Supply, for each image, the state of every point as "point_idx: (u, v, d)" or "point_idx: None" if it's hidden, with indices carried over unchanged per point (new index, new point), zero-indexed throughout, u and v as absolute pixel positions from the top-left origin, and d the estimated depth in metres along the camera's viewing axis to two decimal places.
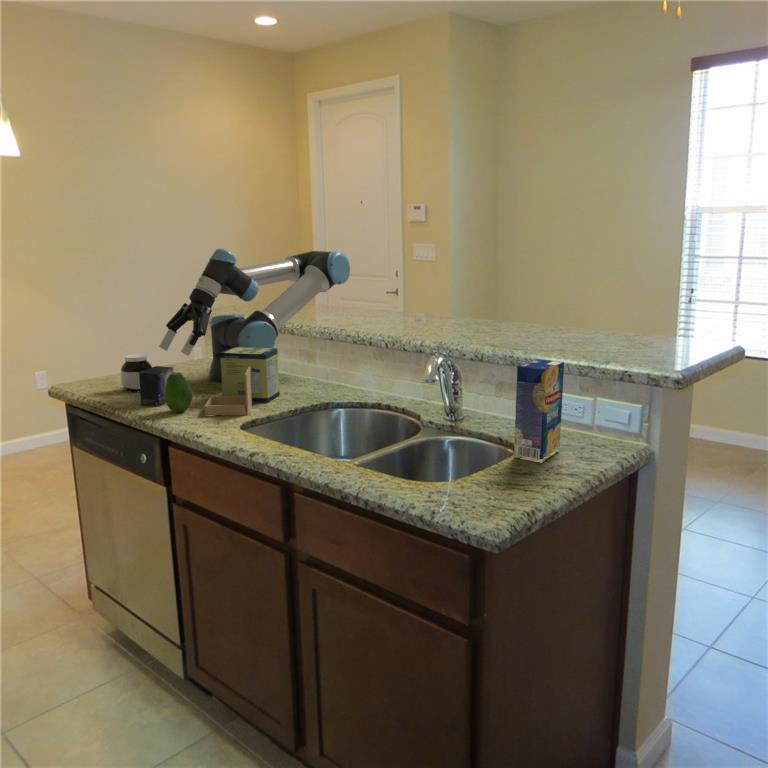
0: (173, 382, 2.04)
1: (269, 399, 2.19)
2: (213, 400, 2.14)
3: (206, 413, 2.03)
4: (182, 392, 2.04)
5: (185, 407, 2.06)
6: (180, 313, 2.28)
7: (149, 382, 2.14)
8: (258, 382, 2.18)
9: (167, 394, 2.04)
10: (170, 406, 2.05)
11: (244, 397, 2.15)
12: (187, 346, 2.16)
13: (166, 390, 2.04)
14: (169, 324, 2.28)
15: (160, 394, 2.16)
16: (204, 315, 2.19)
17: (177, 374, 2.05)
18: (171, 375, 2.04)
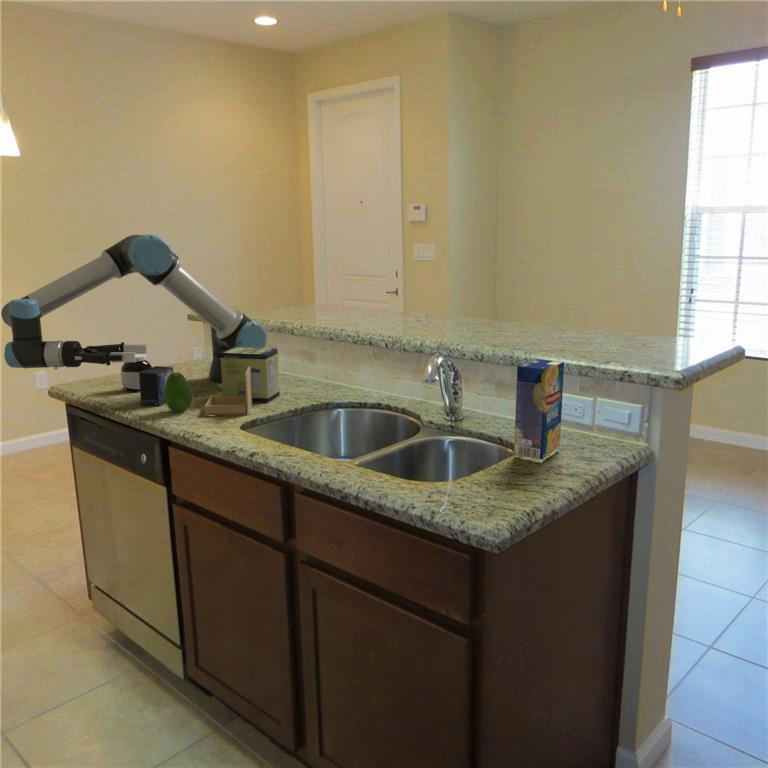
0: (173, 382, 2.04)
1: (269, 399, 2.19)
2: (213, 400, 2.14)
3: (206, 413, 2.03)
4: (182, 392, 2.04)
5: (185, 407, 2.06)
6: None
7: (148, 382, 2.14)
8: (258, 382, 2.18)
9: (167, 394, 2.04)
10: (170, 406, 2.05)
11: (244, 397, 2.15)
12: (126, 359, 1.97)
13: (166, 390, 2.04)
14: (120, 351, 2.11)
15: (160, 394, 2.16)
16: (85, 360, 1.95)
17: (177, 374, 2.05)
18: (171, 375, 2.04)
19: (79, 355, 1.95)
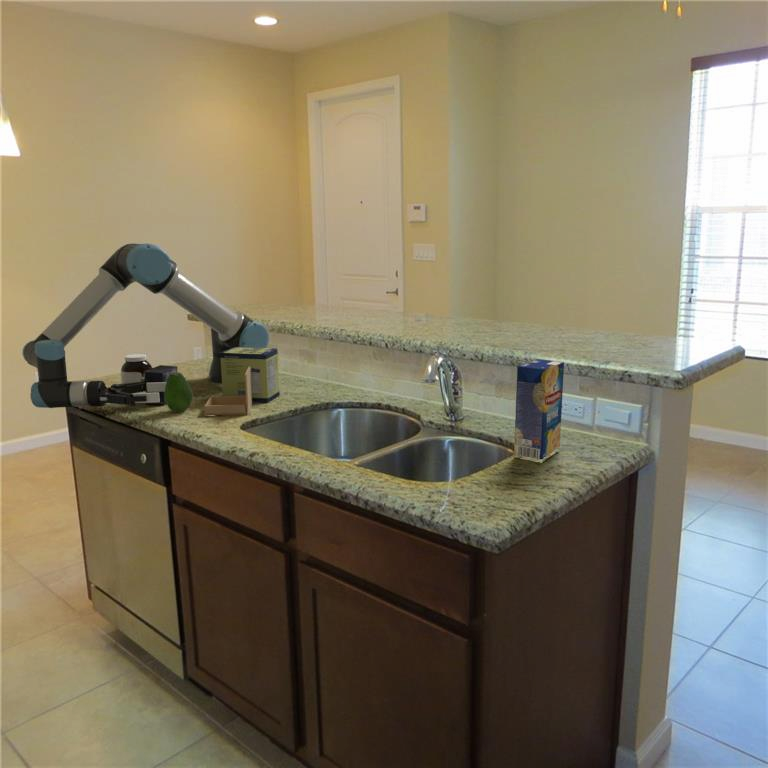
0: (173, 382, 2.04)
1: (269, 399, 2.19)
2: (213, 400, 2.14)
3: (206, 413, 2.03)
4: (182, 392, 2.04)
5: (185, 407, 2.06)
6: None
7: (154, 381, 2.15)
8: (258, 382, 2.18)
9: (167, 394, 2.04)
10: (170, 406, 2.05)
11: (244, 397, 2.15)
12: (150, 400, 1.99)
13: (166, 390, 2.04)
14: None
15: None
16: (110, 401, 1.98)
17: (177, 374, 2.05)
18: (171, 375, 2.04)
19: (104, 396, 1.98)
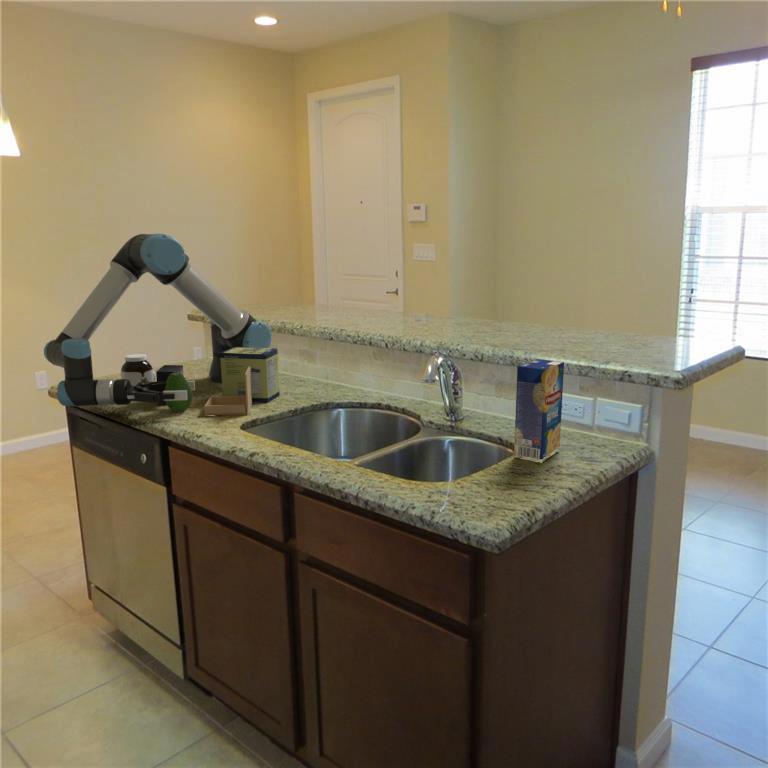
0: (173, 382, 2.04)
1: (269, 399, 2.19)
2: (213, 400, 2.14)
3: (206, 413, 2.03)
4: None
5: (185, 407, 2.06)
6: None
7: None
8: (258, 382, 2.18)
9: None
10: (170, 406, 2.05)
11: (244, 397, 2.15)
12: (178, 397, 2.01)
13: (166, 390, 2.04)
14: None
15: None
16: (138, 399, 1.99)
17: (177, 374, 2.05)
18: (171, 375, 2.04)
19: (132, 394, 1.99)
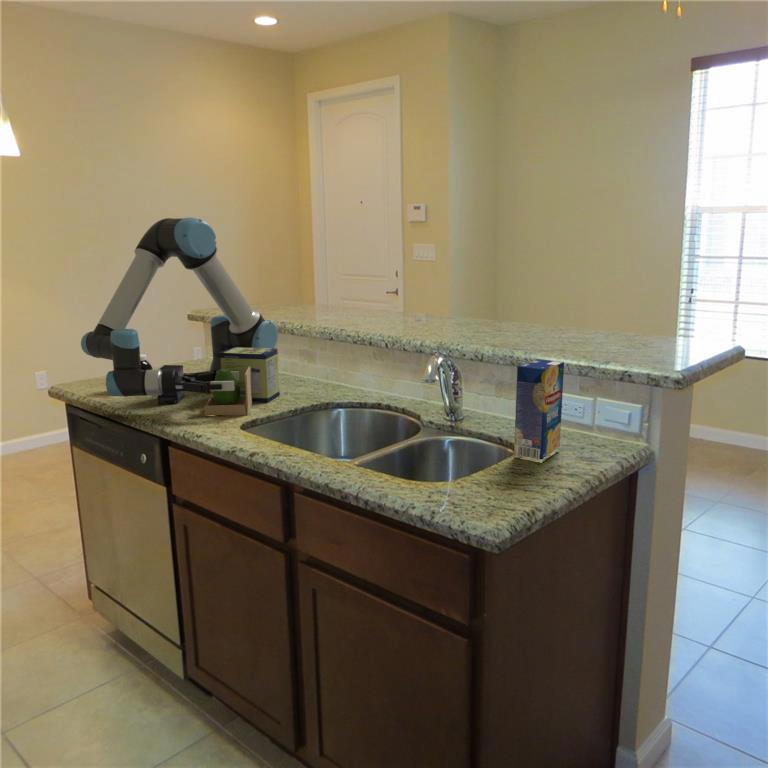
0: (221, 378, 2.05)
1: (269, 399, 2.19)
2: (213, 400, 2.14)
3: (206, 413, 2.03)
4: None
5: (233, 403, 2.07)
6: None
7: None
8: (258, 382, 2.18)
9: None
10: (218, 402, 2.06)
11: (244, 397, 2.15)
12: (225, 388, 2.01)
13: None
14: None
15: (178, 392, 2.19)
16: (186, 389, 2.00)
17: (226, 370, 2.06)
18: (220, 371, 2.06)
19: (180, 384, 2.00)
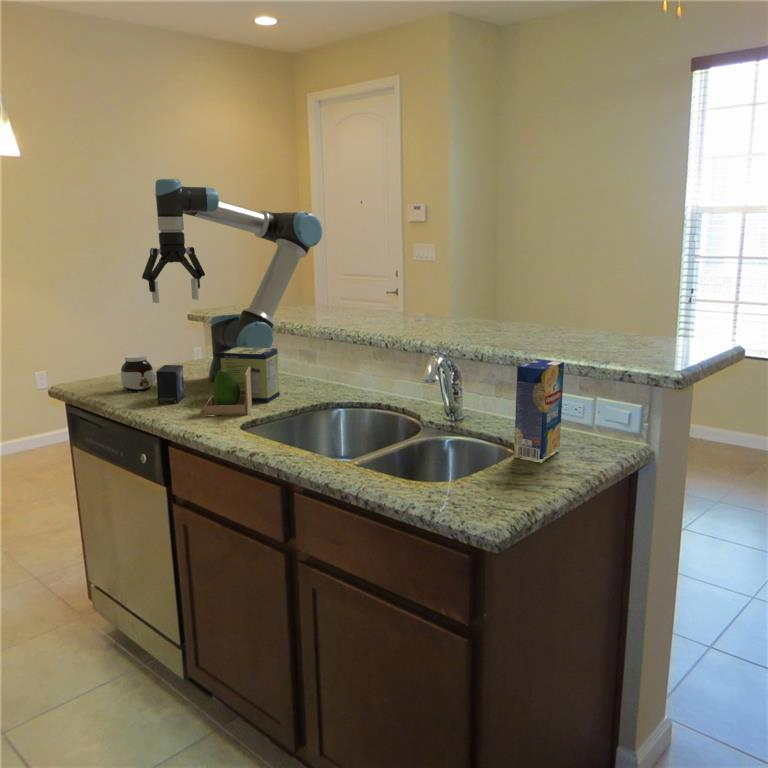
0: (221, 379, 2.05)
1: (269, 399, 2.19)
2: (213, 400, 2.14)
3: (206, 413, 2.03)
4: (231, 389, 2.05)
5: (233, 404, 2.07)
6: (190, 258, 2.23)
7: (167, 380, 2.16)
8: (258, 382, 2.18)
9: (216, 391, 2.05)
10: (218, 402, 2.06)
11: (244, 397, 2.15)
12: (153, 295, 2.16)
13: (215, 387, 2.05)
14: (197, 273, 2.26)
15: (178, 392, 2.19)
16: (149, 258, 2.13)
17: (225, 371, 2.06)
18: (220, 372, 2.06)
19: (153, 253, 2.12)
